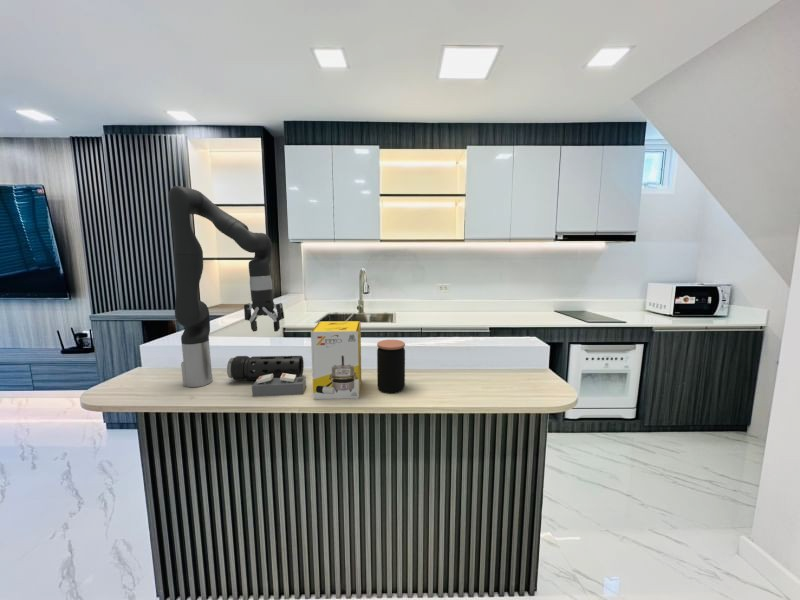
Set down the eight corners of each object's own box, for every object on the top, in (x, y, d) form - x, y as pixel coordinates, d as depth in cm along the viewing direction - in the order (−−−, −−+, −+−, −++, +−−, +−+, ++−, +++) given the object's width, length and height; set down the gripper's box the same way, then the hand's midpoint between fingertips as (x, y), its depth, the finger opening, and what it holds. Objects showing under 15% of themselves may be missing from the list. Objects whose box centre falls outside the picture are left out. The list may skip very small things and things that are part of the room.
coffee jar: (409, 385, 131) (409, 341, 128) (397, 396, 121) (397, 348, 118) (385, 380, 135) (385, 338, 132) (372, 390, 126) (371, 345, 123)
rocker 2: (279, 379, 122) (280, 376, 122) (282, 375, 126) (282, 372, 126) (293, 382, 123) (294, 378, 123) (295, 377, 127) (296, 374, 127)
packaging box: (313, 399, 118) (310, 331, 114) (321, 381, 134) (319, 321, 130) (359, 398, 119) (357, 331, 115) (361, 380, 135) (360, 321, 131)
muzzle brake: (299, 384, 132) (297, 359, 130) (226, 385, 130) (224, 360, 129) (304, 375, 141) (303, 351, 140) (237, 376, 140) (235, 353, 138)
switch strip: (252, 396, 120) (251, 385, 120) (258, 388, 127) (257, 377, 127) (303, 394, 123) (302, 382, 122) (306, 386, 130) (305, 375, 129)
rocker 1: (257, 383, 121) (256, 380, 121) (260, 379, 125) (259, 376, 125) (270, 380, 122) (270, 377, 122) (273, 376, 126) (272, 373, 126)
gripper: (237, 289, 118) (242, 333, 121) (274, 289, 116) (279, 333, 119) (249, 287, 125) (253, 328, 128) (284, 286, 124) (288, 328, 126)
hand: (265, 331), depth 124 cm, fingers open, 8 cm apart
